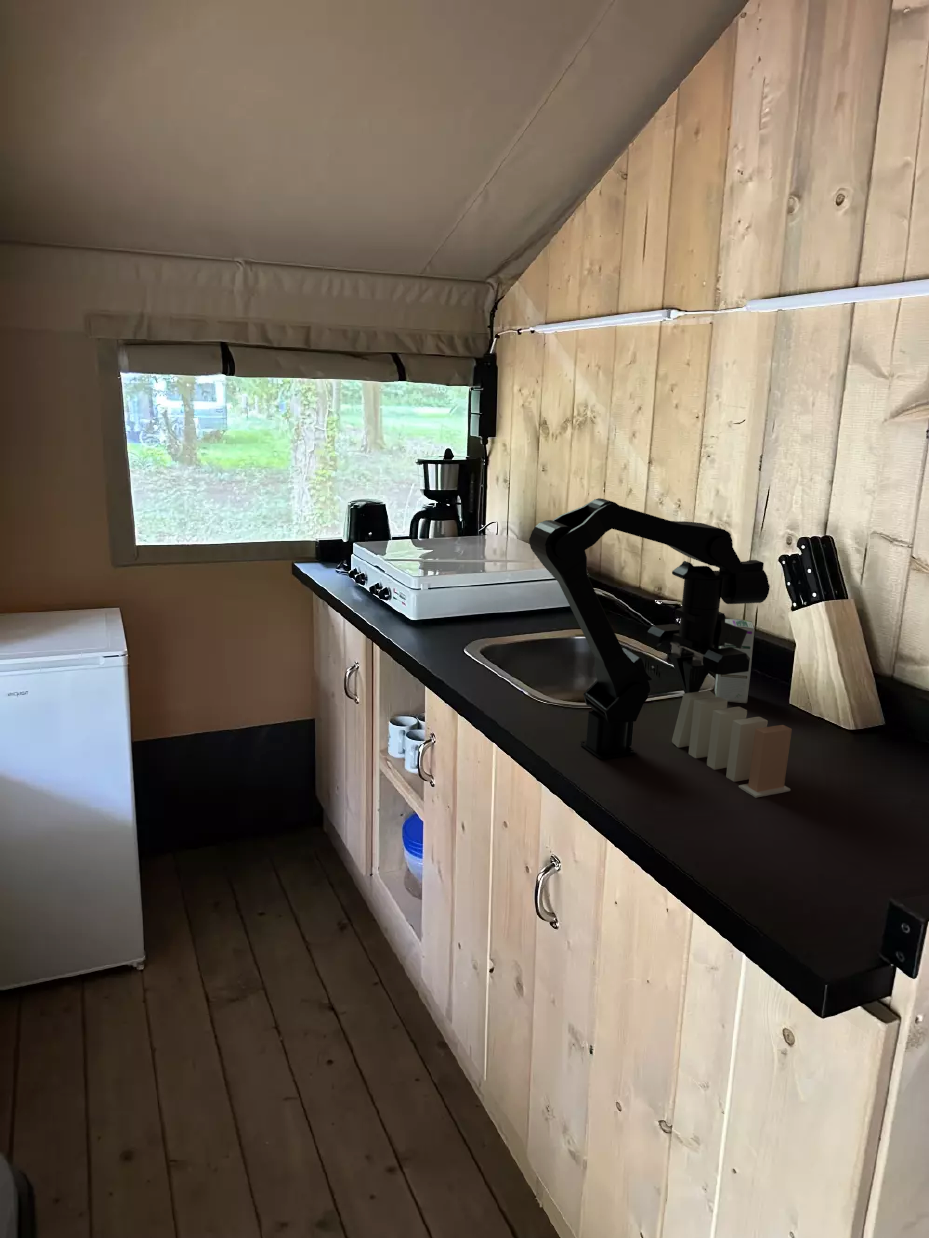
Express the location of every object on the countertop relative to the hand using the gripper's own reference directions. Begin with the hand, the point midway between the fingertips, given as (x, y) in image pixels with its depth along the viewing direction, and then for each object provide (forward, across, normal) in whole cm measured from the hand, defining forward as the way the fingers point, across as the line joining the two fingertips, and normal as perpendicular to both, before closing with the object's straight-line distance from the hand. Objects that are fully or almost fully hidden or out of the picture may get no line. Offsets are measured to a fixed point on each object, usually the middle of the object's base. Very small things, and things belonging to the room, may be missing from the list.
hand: (690, 699), depth 146 cm
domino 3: (+8, -9, 0) cm, 12 cm away
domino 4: (+8, -14, 0) cm, 16 cm away
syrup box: (+8, +15, -22) cm, 28 cm away
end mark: (+8, -18, 0) cm, 20 cm away
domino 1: (+7, 0, 0) cm, 7 cm away
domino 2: (+8, -5, 0) cm, 9 cm away
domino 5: (+7, -18, 0) cm, 20 cm away
